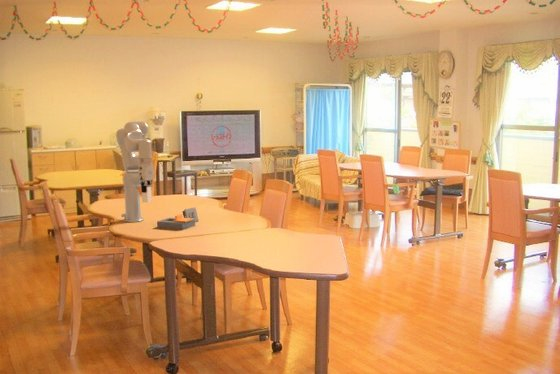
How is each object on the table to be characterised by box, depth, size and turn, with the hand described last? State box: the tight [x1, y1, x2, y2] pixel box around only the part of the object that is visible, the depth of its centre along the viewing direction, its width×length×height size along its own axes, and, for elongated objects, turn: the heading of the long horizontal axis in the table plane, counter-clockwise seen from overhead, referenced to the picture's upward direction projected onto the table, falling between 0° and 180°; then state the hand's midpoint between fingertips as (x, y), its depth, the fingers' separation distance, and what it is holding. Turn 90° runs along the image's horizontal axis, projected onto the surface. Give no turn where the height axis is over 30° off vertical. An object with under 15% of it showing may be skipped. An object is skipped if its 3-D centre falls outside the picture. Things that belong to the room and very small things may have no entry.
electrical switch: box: [182, 207, 199, 223], centre depth 386 cm, size 9×5×9 cm, turn 141°
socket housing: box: [156, 217, 196, 231], centre depth 371 cm, size 18×14×4 cm
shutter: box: [174, 213, 193, 222], centre depth 368 cm, size 8×9×3 cm
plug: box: [141, 185, 153, 204], centre depth 359 cm, size 4×4×10 cm
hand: (146, 191), depth 359 cm, fingers closed on plug, 4 cm apart
